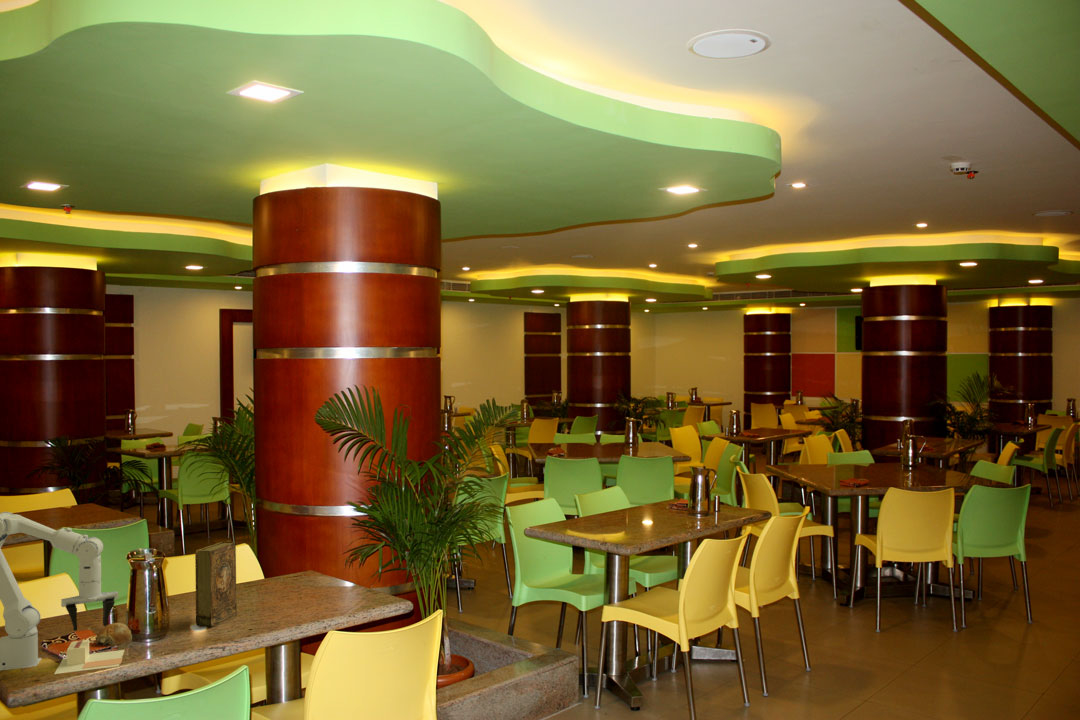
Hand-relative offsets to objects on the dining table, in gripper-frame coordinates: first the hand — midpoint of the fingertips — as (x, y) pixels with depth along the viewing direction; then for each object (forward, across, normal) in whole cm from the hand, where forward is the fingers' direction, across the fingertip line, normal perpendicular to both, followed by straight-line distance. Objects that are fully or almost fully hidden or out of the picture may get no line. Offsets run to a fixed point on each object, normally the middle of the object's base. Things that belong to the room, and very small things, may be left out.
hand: (90, 627), depth 248 cm
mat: (+9, 0, -3) cm, 10 cm away
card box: (+9, -3, 0) cm, 9 cm away
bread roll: (+10, +9, +14) cm, 19 cm away
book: (+9, +41, +18) cm, 46 cm away
